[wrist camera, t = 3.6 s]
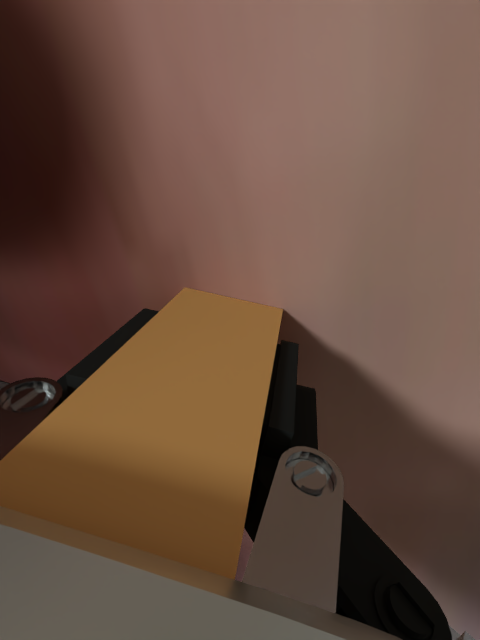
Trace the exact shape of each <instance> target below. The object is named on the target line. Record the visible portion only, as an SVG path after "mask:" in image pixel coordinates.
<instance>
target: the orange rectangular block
mask: <svg viewBox="0 0 480 640" xmlns="http://www.w3.org/2000/svg"><path fill="white" fill-rule="evenodd" d="M282 313H283V309H280V308H276V307H271V306H267V305H262V304H258V303H253V302H249V301H244V300H240V299H235V298H231V297H226V296H222V295H217V294H213V293H208V292H204V291H199V290H194V289H190V288H184V289H183V290H182V291H181V292H180V293H179V294H177V295H176V296H175V297H174V298H173V299H172V300H171V301H170V302H169V303H168V304H167V305H166V306H165V307H164V308H163V309H162V310H160V311H159V312H158V313H157V314H156V315H155V316H154V317H153V318H152V319H151V320H150V321H149V322H148V323H147V324H146V325H144V326H143V327H142V328H141V329H140V330H139V331H138V332H137V333H136V334H135V335H134V336H133V337H132V338H131V339H130V340H128V341H127V342H126V343H125V344H124V345H123V346H122V347H121V348H120V349H119V350H118V351H117V352H116V353H115V354H114V355H113V356H111V357H110V358H109V359H108V360H107V361H106V362H105V363H104V364H103V365H102V366H101V367H100V368H99V369H98V370H97V371H95V372H94V373H93V374H92V375H91V376H90V377H89V378H88V379H87V380H86V381H85V382H84V383H83V384H82V385H81V386H79V387H78V388H77V389H76V390H75V391H74V392H73V393H72V394H71V395H70V396H69V397H68V398H67V399H66V400H65V401H64V402H62V403H61V404H60V405H59V406H58V407H57V408H56V409H55V410H54V411H53V412H52V413H51V414H50V415H49V416H48V417H46V418H45V419H44V420H43V421H42V422H41V423H40V424H39V425H38V426H37V427H36V428H35V429H34V430H33V431H32V432H30V433H29V434H28V435H27V436H26V437H25V438H24V439H23V440H22V441H21V442H20V443H19V444H18V445H17V446H16V447H14V448H13V449H12V450H11V451H10V452H9V453H8V454H7V455H6V456H5V457H4V458H3V459H2V460H1V461H0V506H2V507H5V508H8V509H12V510H15V511H18V512H21V513H24V514H28V515H31V516H34V517H37V518H40V519H44V520H47V521H50V522H53V523H57V524H60V525H63V526H66V527H69V528H73V529H76V530H79V531H82V532H85V533H88V534H92V535H95V536H98V537H101V538H104V539H108V540H111V541H114V542H117V543H120V544H124V545H127V546H130V547H133V548H136V549H139V550H143V551H146V552H149V553H152V554H155V555H158V556H161V557H165V558H168V559H171V560H174V561H177V562H180V563H183V564H187V565H190V566H193V567H196V568H199V569H202V570H205V571H208V572H212V573H215V574H218V575H221V576H224V577H227V578H230V579H234V580H235V575H236V570H237V564H238V558H239V553H240V547H241V542H242V536H243V530H244V525H245V519H246V514H247V508H248V503H249V497H250V491H251V486H252V480H253V475H254V469H255V463H256V458H257V452H258V447H259V441H260V435H261V430H262V424H263V419H264V413H265V408H266V402H267V396H268V391H269V385H270V380H271V374H272V368H273V363H274V357H275V352H276V346H277V341H278V335H279V329H280V324H281V318H282Z"/></svg>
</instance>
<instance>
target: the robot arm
mask: <svg viewBox="0 0 480 640" xmlns="http://www.w3.org/2000/svg"><path fill="white" fill-rule="evenodd" d="M157 313H158V311H154V310H150V309H143V310H142V311H140V312H139V313H138V314H137V315H136V316H134V317H133V318H132V319H131V320H130V321H128V322H127V323H126V324H125V325H124V326H122V327H121V328H120V329H119V330H118V331H116V332H115V333H114V334H113V335H112V336H110V337H109V338H108V339H107V340H106V341H104V342H103V343H102V344H101V345H100V346H98V347H97V348H96V349H95V350H94V351H92V352H91V353H90V354H89V355H88V356H86V357H85V358H84V359H83V360H82V361H80V362H79V363H78V364H77V365H76V366H74V367H73V368H72V369H71V370H70V371H68V372H67V373H66V374H65V375H64V376H62V377H61V378H60V379H59V380H58V381H55V380H52V379H49V378H41V377H34V378H26V379H22V380H18V381H15V382H13V383H11V384H8V385H6V386H5V387H3V388H2V389H0V461H1V460H2V459H3V458H4V457H5V456H6V455H7V454H8V453H9V452H10V451H11V450H12V449H13V448H14V447H16V446H17V445H18V444H19V443H20V442H21V441H22V440H23V439H24V438H25V437H26V436H27V435H28V434H29V433H30V432H32V431H33V430H34V429H35V428H36V427H37V426H38V425H39V424H40V423H41V422H42V421H43V420H44V419H45V418H46V417H48V416H49V415H50V414H51V413H52V412H53V411H54V410H55V409H56V408H57V407H58V406H59V405H60V404H61V403H62V402H64V401H65V400H66V399H67V398H68V397H69V396H70V395H71V394H72V393H73V392H74V391H75V390H76V389H77V388H78V387H79V386H81V385H82V384H83V383H84V382H85V381H86V380H87V379H88V378H89V377H90V376H91V375H92V374H93V373H94V372H95V371H97V370H98V369H99V368H100V367H101V366H102V365H103V364H104V363H105V362H106V361H107V360H108V359H109V358H110V357H111V356H113V355H114V354H115V353H116V352H117V351H118V350H119V349H120V348H121V347H122V346H123V345H124V344H125V343H126V342H127V341H128V340H130V339H131V338H132V337H133V336H134V335H135V334H136V333H137V332H138V331H139V330H140V329H141V328H142V327H143V326H144V325H146V324H147V323H148V322H149V321H150V320H151V319H152V318H153V317H154V316H155V315H156V314H157ZM297 364H298V344H296V343H292V342H287V341H283V340H282V341H281V344H277V346H276V352H275V357H274V363H273V368H272V374H271V380H270V385H269V391H268V396H267V402H266V408H265V413H264V419H263V424H262V430H261V435H260V441H259V447H258V452H257V458H256V463H255V469H254V475H253V480H252V486H251V491H250V497H249V503H248V508H247V514H246V519H245V525H244V528H245V529H246V531H247V533H248V534H249V536H250V537H251V539H252V541H253V542H254V544H253V547H252V550H251V554H250V557H249V560H248V564H247V567H246V570H245V573H244V577H243V580H242V582H240V581H237V580H234V579H230V578H227V577H224V576H221V575H218V574H215V573H212V572H208V571H205V570H202V569H199V568H196V567H193V566H190V565H187V564H183V563H180V562H177V561H174V560H171V559H168V558H165V557H161V556H158V555H155V554H152V553H149V552H146V551H143V550H139V549H136V548H133V547H130V546H127V545H124V544H120V543H117V542H114V541H111V540H108V539H104V538H101V537H98V536H95V535H92V534H88V533H85V532H82V531H79V530H76V529H73V528H69V527H66V526H63V525H60V524H57V523H53V522H50V521H47V520H44V519H40V518H37V517H34V516H31V515H28V514H24V513H21V512H18V511H15V510H12V509H8V508H5V507H2V506H0V640H475V639H474V638H473V637H472V636H470V635H469V634H468V633H467V632H466V631H465V632H464V633H463V634H462V635H460V634H458V633H457V632H456V631H455V630H454V629H453V628H451V627H450V626H449V625H448V621H447V618H446V617H445V615H444V613H443V611H442V609H441V607H440V606H439V604H438V602H437V601H436V600H435V598H434V597H433V596H432V594H431V593H430V592H429V591H428V589H427V588H426V587H425V586H424V585H423V584H422V583H421V582H420V581H419V580H418V579H417V577H416V576H415V575H414V574H413V573H412V572H411V571H410V570H409V569H408V568H407V567H406V566H405V565H404V564H403V562H402V561H401V560H400V559H399V558H398V557H397V556H396V555H395V554H394V553H393V552H392V551H391V550H390V549H389V547H388V546H387V545H386V544H385V543H384V542H383V541H382V540H381V539H380V538H379V537H378V536H377V535H376V534H375V532H374V531H373V530H372V529H371V528H370V527H369V526H368V525H367V524H366V523H365V522H364V521H363V520H362V519H361V517H360V516H359V515H358V514H357V513H356V512H355V511H354V510H353V509H352V508H351V507H350V506H349V505H348V504H347V502H346V501H345V500H344V499H343V495H344V481H343V476H342V474H341V471H340V469H339V467H338V466H337V465H336V464H335V463H334V461H333V460H332V459H331V458H329V457H328V456H327V455H326V454H324V453H322V452H320V451H318V442H317V414H316V391H315V389H313V388H309V387H305V386H300V385H296V383H297Z"/></svg>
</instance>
